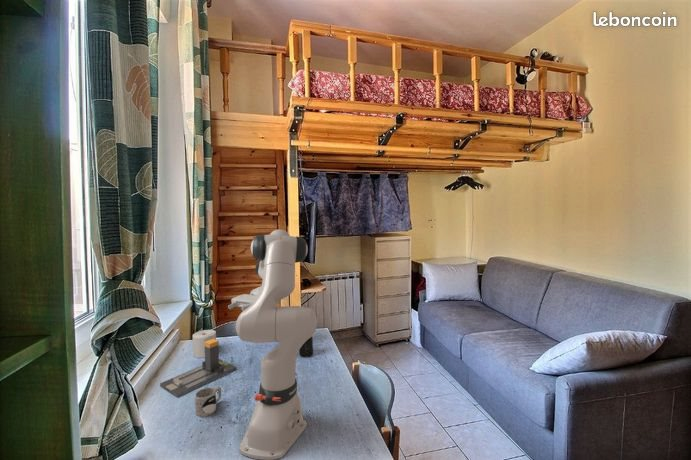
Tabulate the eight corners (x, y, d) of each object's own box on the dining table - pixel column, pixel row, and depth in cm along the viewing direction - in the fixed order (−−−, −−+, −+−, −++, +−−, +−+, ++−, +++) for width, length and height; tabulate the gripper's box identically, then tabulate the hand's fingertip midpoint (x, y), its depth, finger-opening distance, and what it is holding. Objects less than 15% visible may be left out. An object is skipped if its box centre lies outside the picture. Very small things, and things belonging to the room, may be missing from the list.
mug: (204, 419, 106) (203, 400, 106) (191, 413, 109) (190, 395, 109) (227, 403, 115) (227, 385, 114) (214, 398, 118) (214, 381, 117)
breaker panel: (218, 361, 148) (218, 354, 148) (236, 369, 140) (236, 362, 139) (160, 386, 126) (159, 378, 126) (177, 397, 118) (177, 389, 118)
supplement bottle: (314, 351, 157) (313, 328, 156) (311, 358, 150) (311, 333, 149) (300, 351, 157) (300, 327, 157) (297, 357, 151) (297, 333, 150)
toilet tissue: (207, 347, 164) (207, 328, 163) (222, 352, 158) (222, 332, 157) (188, 355, 155) (187, 335, 154) (203, 360, 148) (202, 340, 148)
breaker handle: (213, 364, 140) (213, 338, 140) (219, 367, 138) (218, 340, 137) (205, 368, 137) (204, 341, 136) (210, 371, 135) (209, 344, 134)
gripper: (243, 289, 161) (220, 300, 150) (271, 292, 150) (248, 303, 138) (246, 301, 162) (223, 312, 151) (273, 304, 151) (251, 317, 139)
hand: (235, 308), depth 144 cm, fingers open, 8 cm apart
